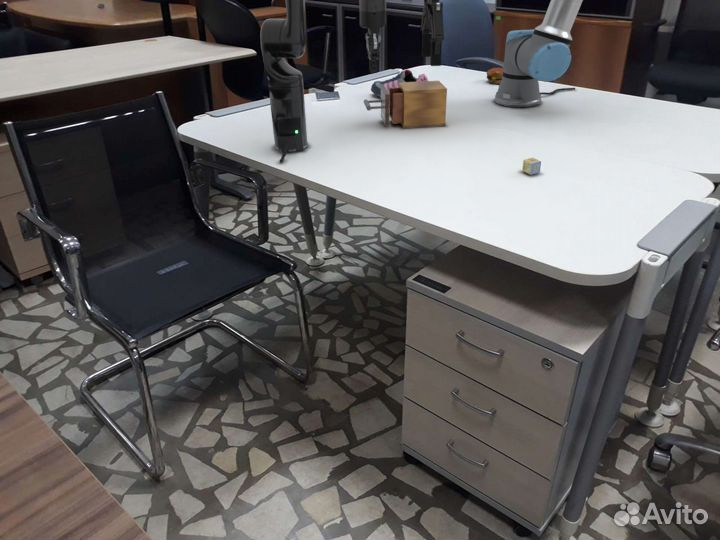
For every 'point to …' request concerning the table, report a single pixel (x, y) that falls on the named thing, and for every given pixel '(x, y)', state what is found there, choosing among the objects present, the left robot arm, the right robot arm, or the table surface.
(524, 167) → the alphabet block
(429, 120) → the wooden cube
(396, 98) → the drawer
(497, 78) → the burger
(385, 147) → the table surface
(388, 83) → the running shoe
